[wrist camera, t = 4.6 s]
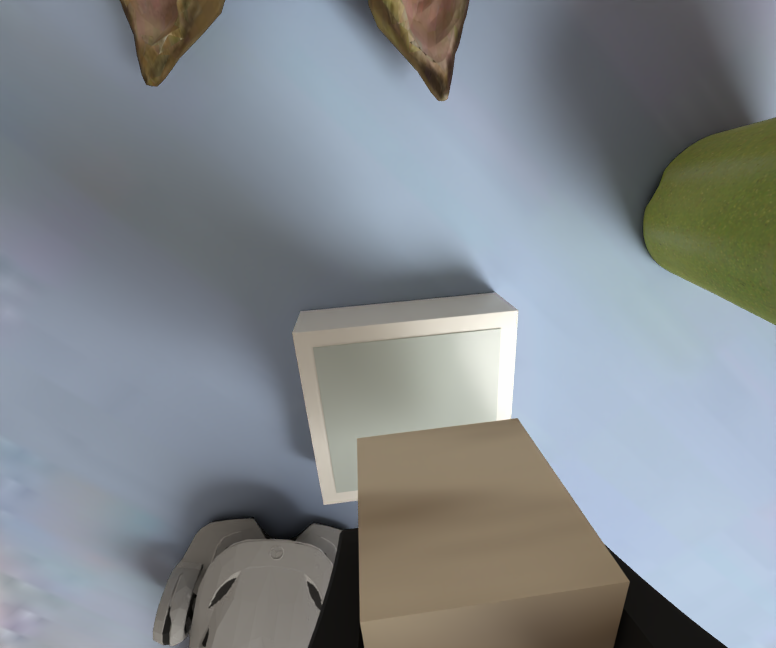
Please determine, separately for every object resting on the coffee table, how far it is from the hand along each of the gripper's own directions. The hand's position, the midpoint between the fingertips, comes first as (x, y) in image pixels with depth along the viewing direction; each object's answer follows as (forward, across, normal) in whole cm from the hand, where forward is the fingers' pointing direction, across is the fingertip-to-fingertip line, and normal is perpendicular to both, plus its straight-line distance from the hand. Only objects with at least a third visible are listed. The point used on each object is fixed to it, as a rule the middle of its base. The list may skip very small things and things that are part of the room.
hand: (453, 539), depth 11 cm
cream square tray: (+8, 0, 0) cm, 9 cm away
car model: (+9, +10, +18) cm, 23 cm away
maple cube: (+2, 0, 0) cm, 2 cm away
